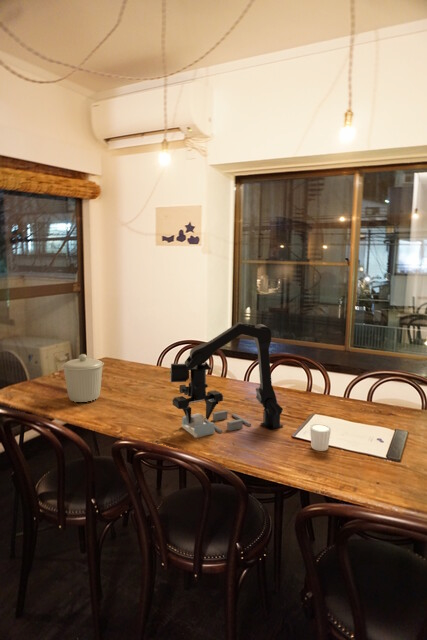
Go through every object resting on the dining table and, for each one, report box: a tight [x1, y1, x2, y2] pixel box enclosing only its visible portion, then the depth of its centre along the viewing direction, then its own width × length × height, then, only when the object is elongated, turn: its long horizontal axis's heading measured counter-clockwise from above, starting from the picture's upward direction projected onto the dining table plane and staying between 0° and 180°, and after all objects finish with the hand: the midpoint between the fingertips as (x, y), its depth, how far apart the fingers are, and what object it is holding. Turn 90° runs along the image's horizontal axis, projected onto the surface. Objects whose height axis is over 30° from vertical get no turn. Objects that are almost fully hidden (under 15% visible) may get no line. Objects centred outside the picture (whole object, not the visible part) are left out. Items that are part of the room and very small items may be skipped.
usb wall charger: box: [188, 413, 207, 428], centre depth 158 cm, size 4×7×4 cm, turn 134°
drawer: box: [181, 415, 216, 439], centre depth 159 cm, size 11×8×4 cm
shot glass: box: [309, 423, 332, 452], centre depth 145 cm, size 7×7×7 cm
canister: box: [61, 353, 105, 403], centre depth 191 cm, size 18×18×21 cm
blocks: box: [204, 409, 252, 434], centre depth 165 cm, size 12×14×3 cm
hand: (198, 421), depth 158 cm, fingers closed on usb wall charger, 7 cm apart
